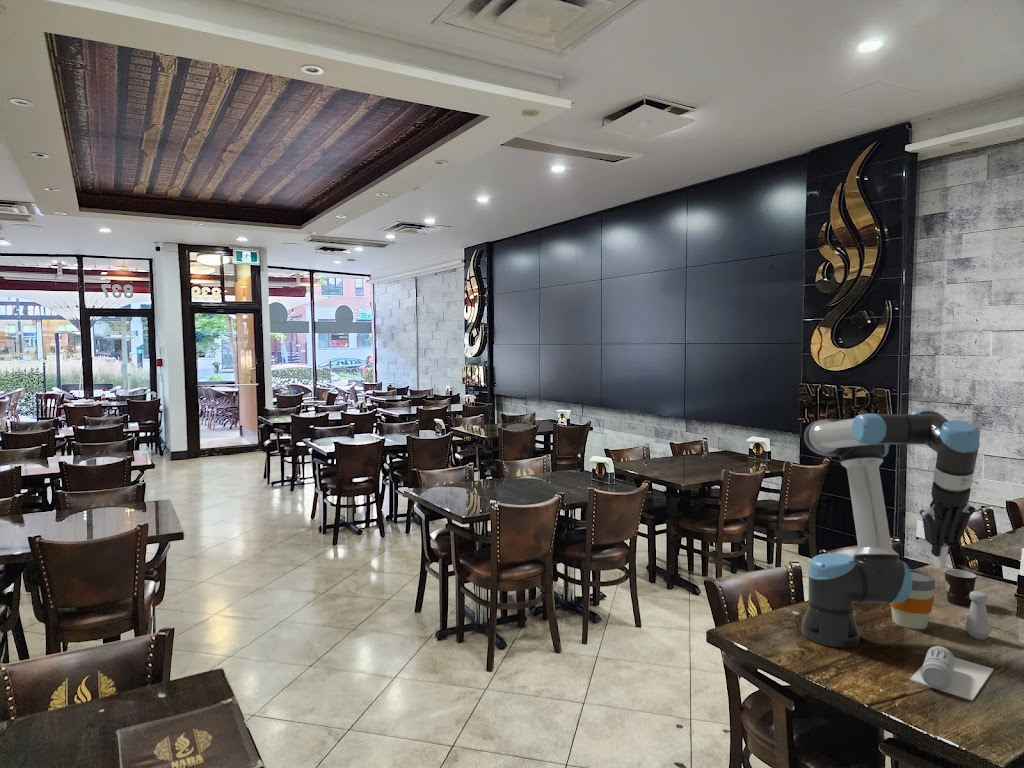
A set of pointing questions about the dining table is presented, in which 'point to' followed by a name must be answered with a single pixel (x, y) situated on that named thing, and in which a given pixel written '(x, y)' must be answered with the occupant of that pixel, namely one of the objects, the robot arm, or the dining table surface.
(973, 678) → the mat
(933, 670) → the energy drink can
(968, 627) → the salt shaker
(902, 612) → the reusable coffee cup
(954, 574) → the coffee mug
